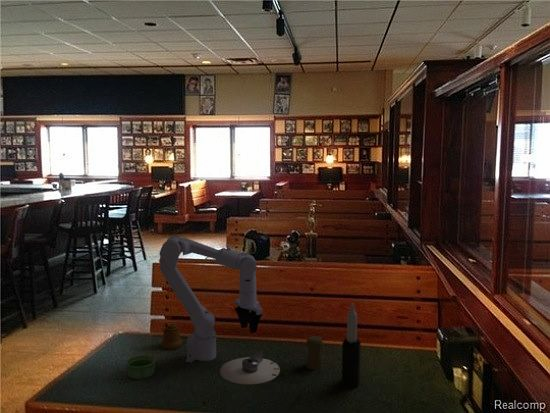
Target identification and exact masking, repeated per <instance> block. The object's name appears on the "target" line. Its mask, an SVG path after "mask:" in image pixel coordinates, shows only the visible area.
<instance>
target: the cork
mask: <svg viewBox="0 0 550 413" xmlns="http://www.w3.org/2000/svg"><path fill="white" fill-rule="evenodd" d="M323 344H324V343H323V339H322V338H321V337H320V336H316V335H312V336H309V337H308V338H307V339H306V346H307V354H306V362H305V368H307V369H309V370H313V371H317V370H318V371H317V372H316V374H315V375H316V376H317V375H321V374H323V373H324V364H323V355H322V347H323Z"/></svg>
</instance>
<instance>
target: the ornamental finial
mask: <svg viewBox="0 0 550 413" xmlns="http://www.w3.org/2000/svg"><path fill="white" fill-rule="evenodd" d="M162 332H163V339H162V340H161V342H160V343H161V344H160V345H161V348H162V349H164V350H166V351H167V350H169V351H173V350H177V349H180V348H181V347H182V345H183V340H182V339H181V334H180V327H178V326H177V325H176V324H174V323H169V324H168V325H167V326H165V327H164V328H163V331H162Z"/></svg>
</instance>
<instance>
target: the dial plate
mask: <svg viewBox="0 0 550 413" xmlns="http://www.w3.org/2000/svg"><path fill="white" fill-rule="evenodd" d="M250 357H251V356H247V357H238V358H234V359H232V360H229V361H227V362H225V363H224V364H223V365H221V367H220V369H219V374H220V376H221V378H224V379H225V380H227V381H229V382H231V383H234V384H240V385H257V384H263V383H268V382H270V381H272V380H273V379H275V378H277V376H279V374H280V372H281V369H280V365H278V363H276V362H274V361H273V360H270V359H266V358H264V357H263V361H261V362H260V363H259V364H258V370H257V371H255V372H244V371H243V370H242V361H243V360H244V359H248V358H250Z"/></svg>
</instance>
